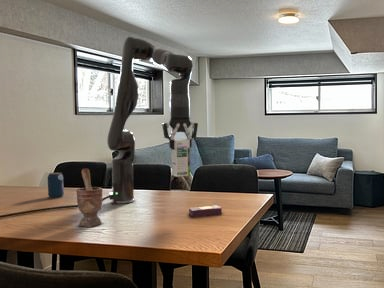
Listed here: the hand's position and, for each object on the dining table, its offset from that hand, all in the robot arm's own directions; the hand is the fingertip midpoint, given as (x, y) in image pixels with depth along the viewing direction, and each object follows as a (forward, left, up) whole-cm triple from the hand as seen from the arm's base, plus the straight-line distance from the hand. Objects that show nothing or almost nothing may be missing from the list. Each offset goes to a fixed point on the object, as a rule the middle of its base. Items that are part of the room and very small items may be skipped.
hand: (180, 149), depth 151 cm
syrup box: (0, 0, -11) cm, 11 cm away
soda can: (-47, +65, -27) cm, 85 cm away
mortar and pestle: (-34, +2, -27) cm, 43 cm away
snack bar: (+9, -3, -26) cm, 28 cm away
